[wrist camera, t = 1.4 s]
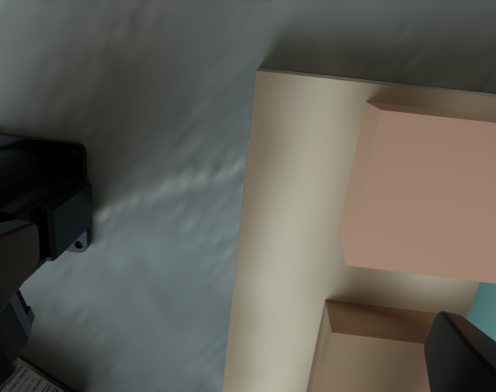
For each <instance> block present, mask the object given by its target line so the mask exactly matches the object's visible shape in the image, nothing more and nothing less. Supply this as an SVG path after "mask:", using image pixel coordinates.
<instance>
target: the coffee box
mask: <svg viewBox="0 0 496 392" xmlns="http://www.w3.org/2000/svg"><path fill="white" fill-rule="evenodd" d="M16 364H17V369H16V371H15V373H14V375H13V376H12V377H11V378H10V379H9V380H8V382H7V384H6V385H5V386H4V388H3V389H2V390H1V391H0V392H71V391H70V390H68V389H67V388H65V387H63V386H62V385H60V384H59V383H57V382H56V381H54V380H53V379H51V378H50V377H48V376H46V375H45V374H43V373H42V372H40V371H39V370H37V369H36V368H34V367H33V366H31V365H29V364H28V363H26V362H25V361H23V360H22V359H20V358H19V357H18V359H17V362H16Z"/></svg>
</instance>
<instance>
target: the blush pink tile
mask: <svg viewBox="0 0 496 392" xmlns="http://www.w3.org/2000/svg"><path fill="white" fill-rule="evenodd" d="M338 242H339V244H340V247H341V250H342V253H343V256H344V259H345V262H346V265H347V266H355V267H363V268H372V269H380V270H388V271H396V272H405V273H413V274H421V275H429V276H438V277H446V278H454V279H462V280H471V281H479V282H487V283H495V284H496V116H490V115H481V114H472V113H463V112H454V111H445V110H436V109H428V108H419V107H410V106H401V105H392V104H383V103H374V102H365V107H364V112H363V117H362V122H361V127H360V132H359V137H358V141H357V146H356V151H355V156H354V161H353V166H352V171H351V176H350V180H349V185H348V190H347V195H346V200H345V205H344V210H343V215H342V219H341V224H340V229H339V234H338Z"/></svg>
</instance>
